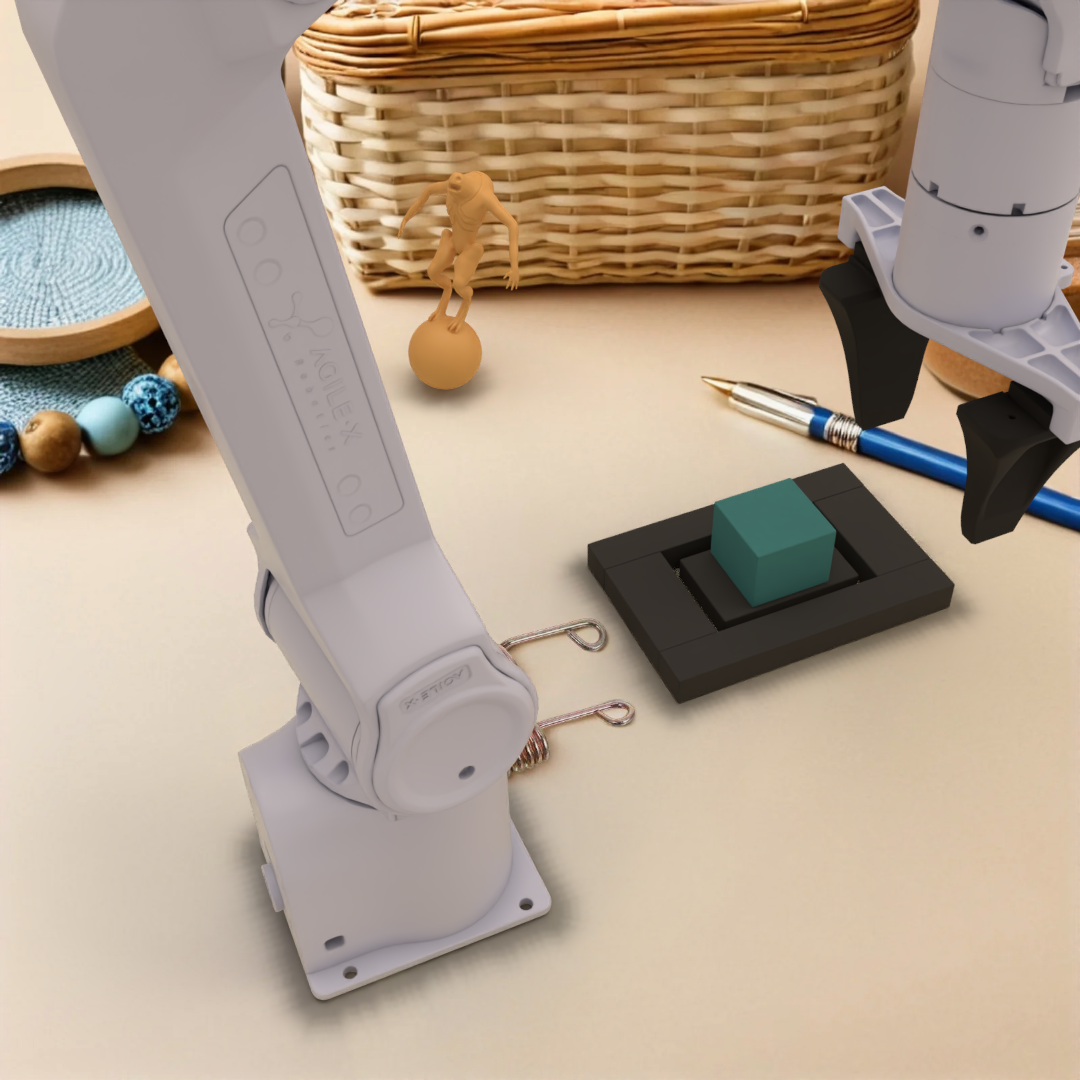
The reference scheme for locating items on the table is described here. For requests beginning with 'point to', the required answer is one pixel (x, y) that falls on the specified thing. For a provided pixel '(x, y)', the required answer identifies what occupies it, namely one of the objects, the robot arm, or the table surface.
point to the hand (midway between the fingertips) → (931, 474)
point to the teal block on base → (765, 556)
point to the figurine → (457, 280)
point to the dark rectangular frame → (781, 637)
